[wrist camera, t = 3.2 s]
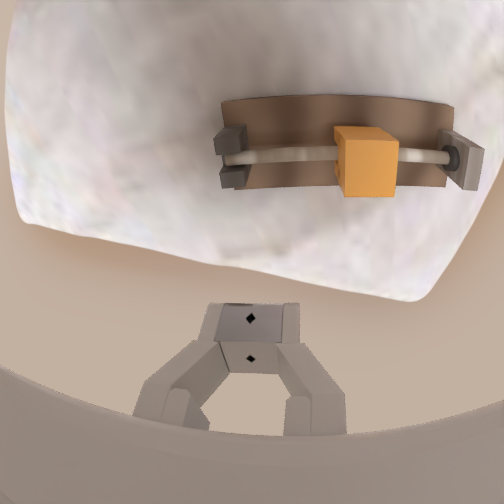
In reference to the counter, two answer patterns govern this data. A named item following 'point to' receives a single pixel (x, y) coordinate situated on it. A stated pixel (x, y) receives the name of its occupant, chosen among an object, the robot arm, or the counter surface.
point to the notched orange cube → (366, 161)
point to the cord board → (326, 149)
